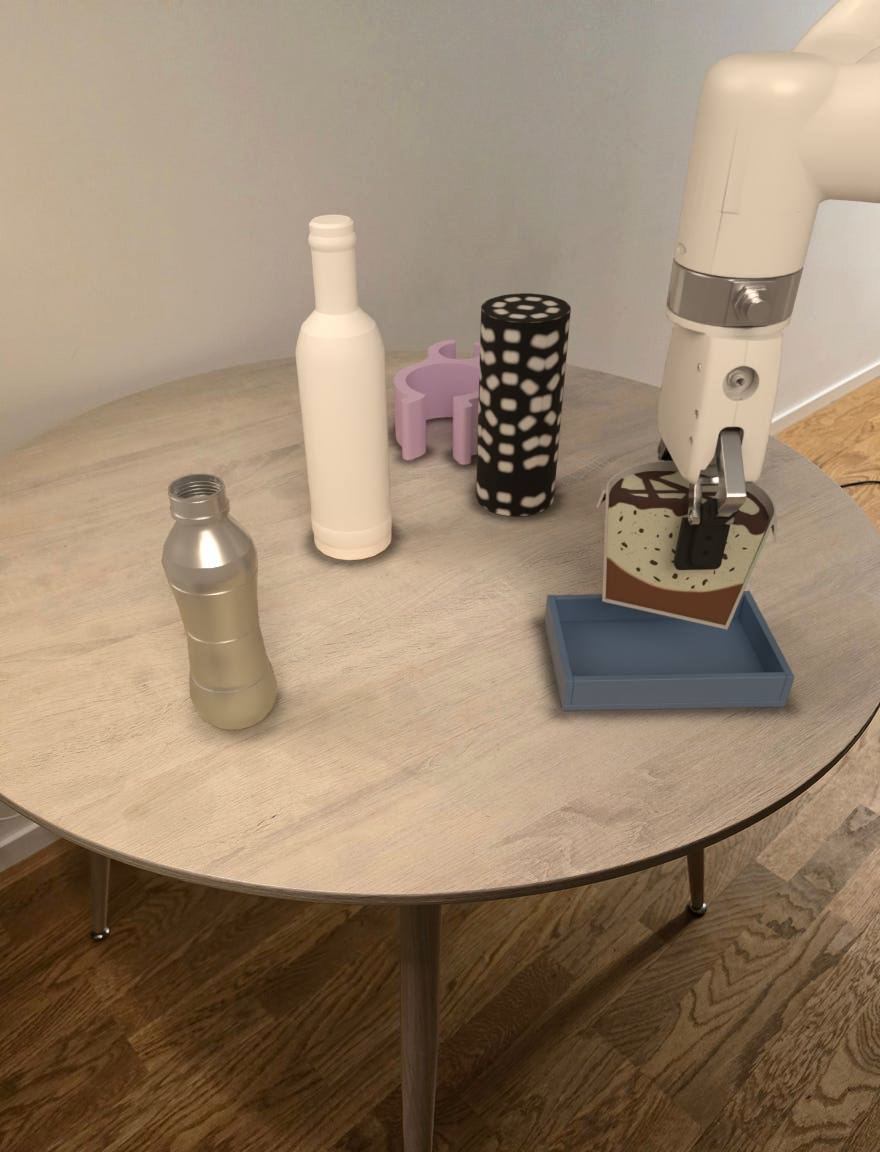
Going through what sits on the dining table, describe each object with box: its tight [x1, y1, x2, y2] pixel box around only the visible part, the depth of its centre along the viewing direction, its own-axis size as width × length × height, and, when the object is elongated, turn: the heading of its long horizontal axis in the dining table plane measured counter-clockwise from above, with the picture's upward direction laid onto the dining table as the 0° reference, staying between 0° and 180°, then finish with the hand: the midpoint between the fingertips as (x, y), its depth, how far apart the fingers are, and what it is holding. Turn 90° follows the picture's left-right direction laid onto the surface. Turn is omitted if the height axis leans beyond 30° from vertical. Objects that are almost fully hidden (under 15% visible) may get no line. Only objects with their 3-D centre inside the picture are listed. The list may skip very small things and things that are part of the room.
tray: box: [544, 590, 796, 712], centre depth 73 cm, size 17×11×3 cm, turn 90°
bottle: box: [294, 214, 393, 561], centre depth 80 cm, size 8×8×30 cm
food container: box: [596, 460, 778, 629], centre depth 66 cm, size 12×6×10 cm, turn 67°
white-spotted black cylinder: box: [475, 292, 572, 517], centre depth 90 cm, size 8×8×20 cm
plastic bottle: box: [161, 473, 278, 731], centre depth 64 cm, size 6×7×20 cm
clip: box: [393, 339, 480, 466], centre depth 108 cm, size 20×12×7 cm, turn 167°
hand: (682, 536), depth 66 cm, fingers closed on food container, 7 cm apart
